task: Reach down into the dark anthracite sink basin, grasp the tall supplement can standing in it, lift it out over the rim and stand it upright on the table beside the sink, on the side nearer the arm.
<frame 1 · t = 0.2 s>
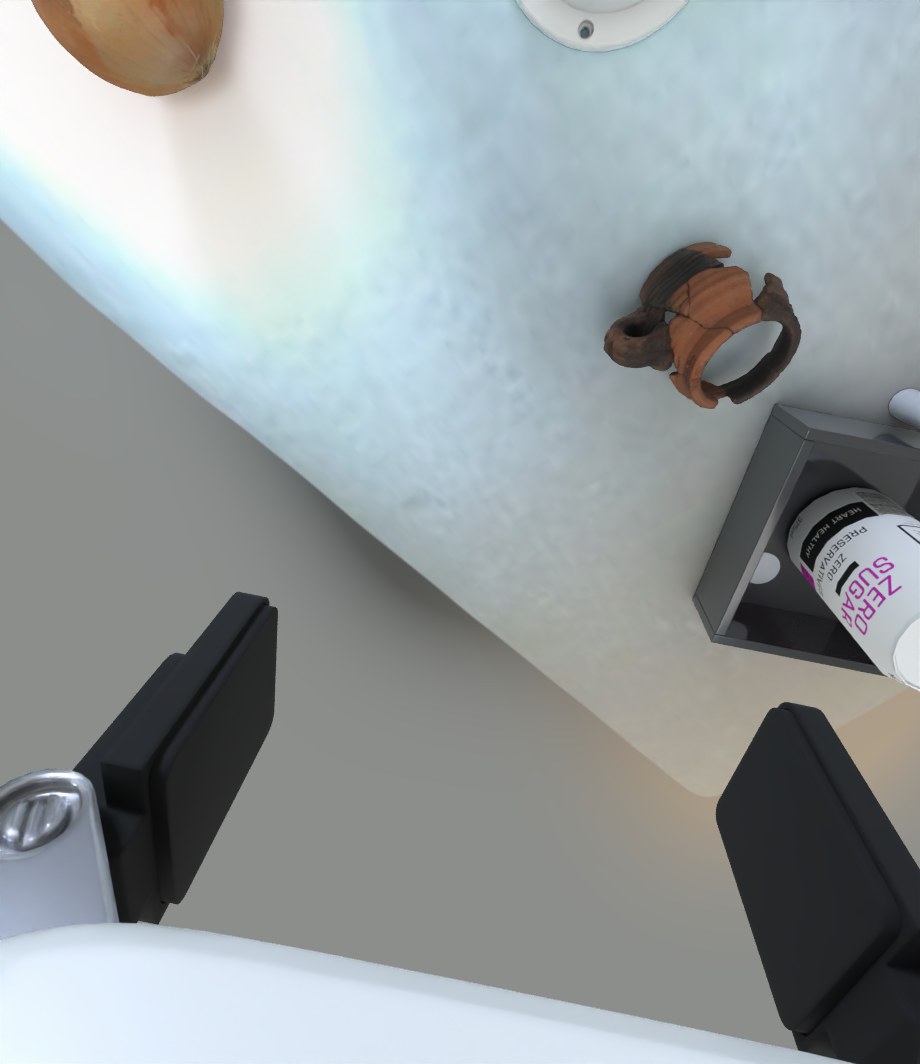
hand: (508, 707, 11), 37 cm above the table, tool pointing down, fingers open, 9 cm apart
supplement can: (837, 530, 48), resting in sink
onion: (175, 12, 37), on the table
pottery mug: (683, 322, 42), on the table
sink: (838, 531, 48), on the table
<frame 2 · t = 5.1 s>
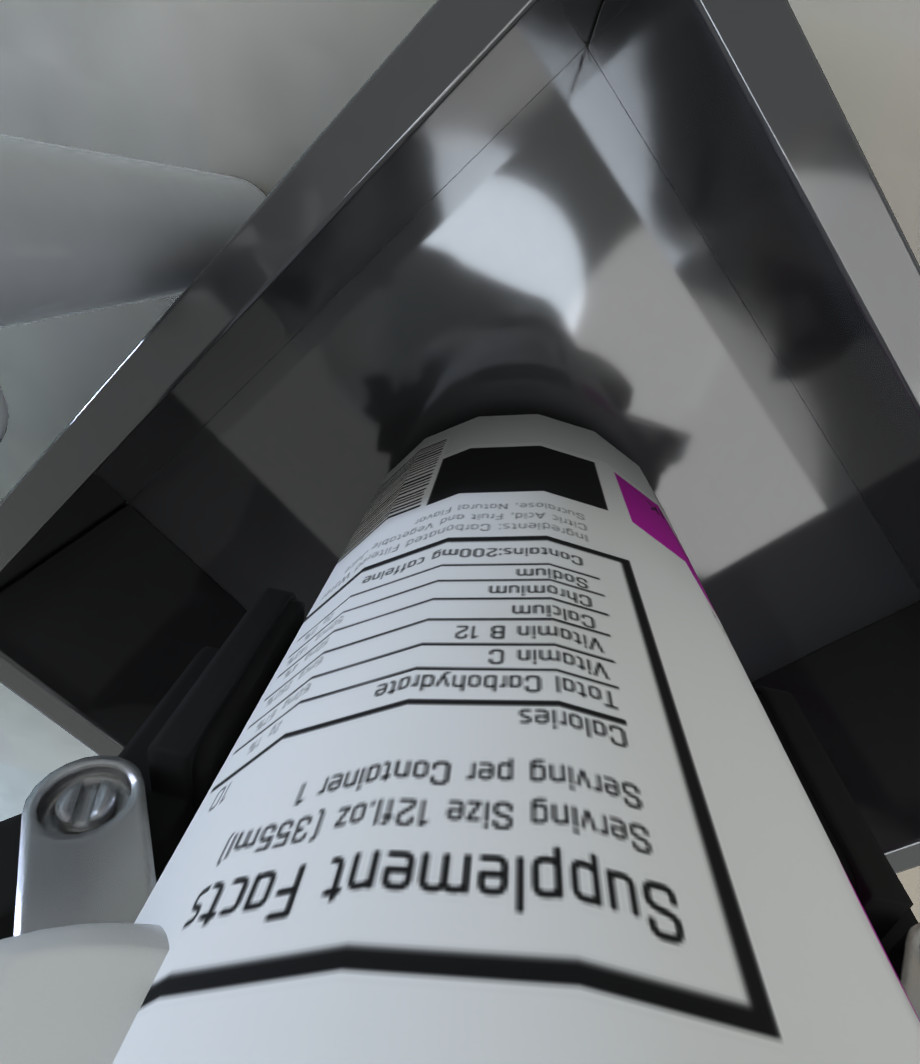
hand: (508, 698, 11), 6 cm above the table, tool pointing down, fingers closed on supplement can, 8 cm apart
supplement can: (513, 545, 17), resting in sink, touching gripper
sink: (513, 547, 17), on the table
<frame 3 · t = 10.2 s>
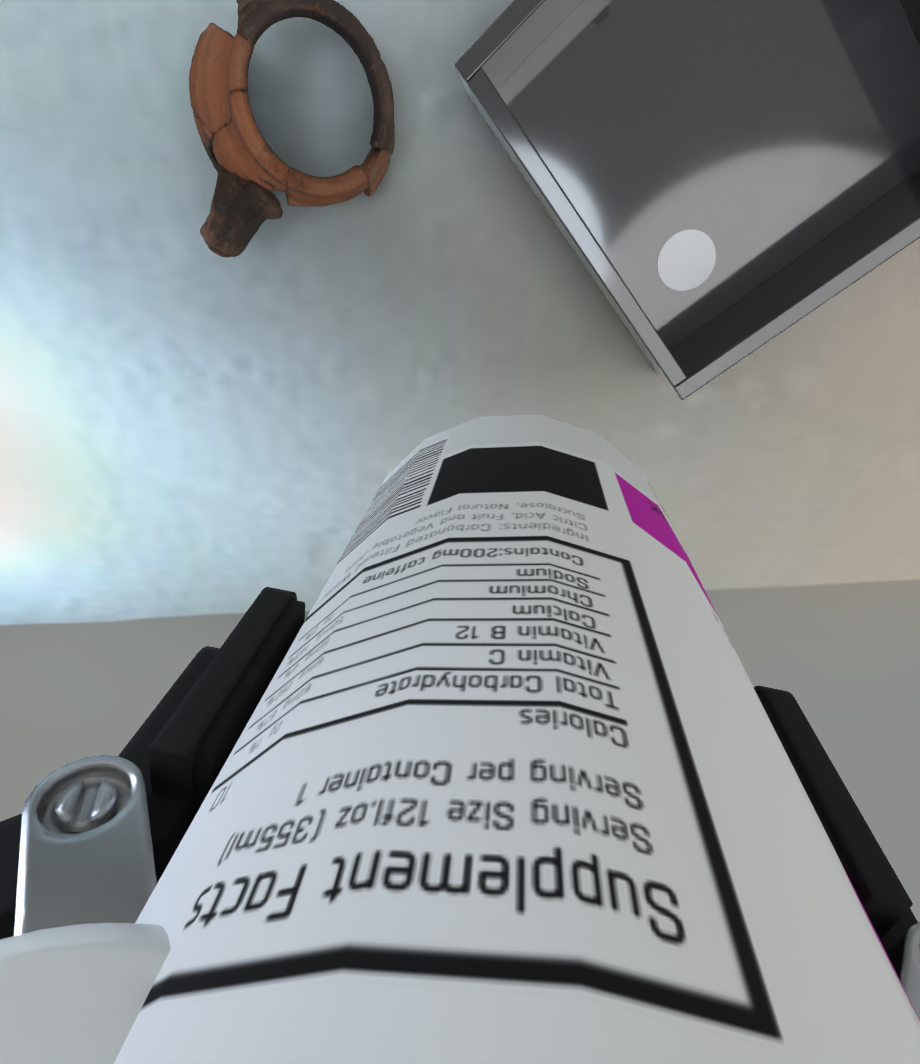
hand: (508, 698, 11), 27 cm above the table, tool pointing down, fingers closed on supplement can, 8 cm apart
supplement can: (514, 545, 17), point 21 cm above the table, touching gripper
pottery mug: (297, 145, 32), on the table
sink: (720, 117, 29), on the table
when the fingers open (6 cm above the table, at t = 15.6 s): supplement can stays where it is, on the table.
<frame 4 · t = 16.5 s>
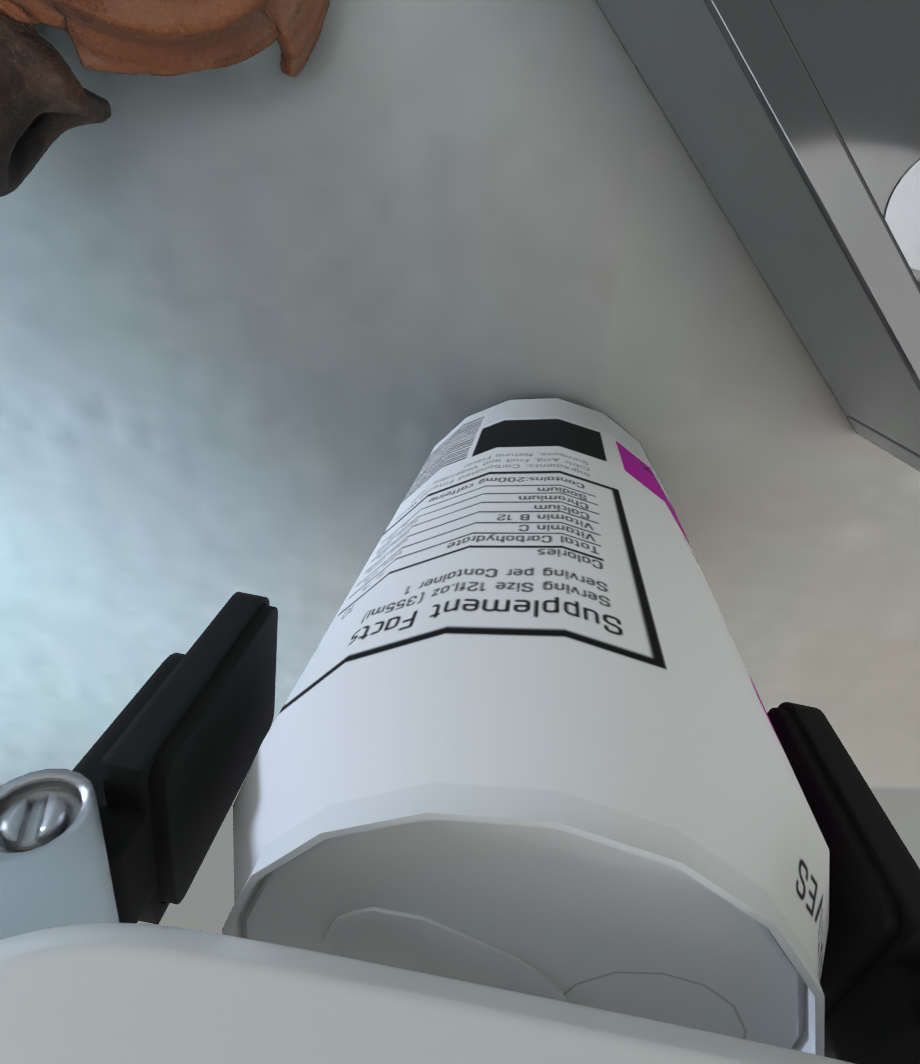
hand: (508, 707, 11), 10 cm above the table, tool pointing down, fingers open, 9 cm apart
supplement can: (535, 510, 21), on the table
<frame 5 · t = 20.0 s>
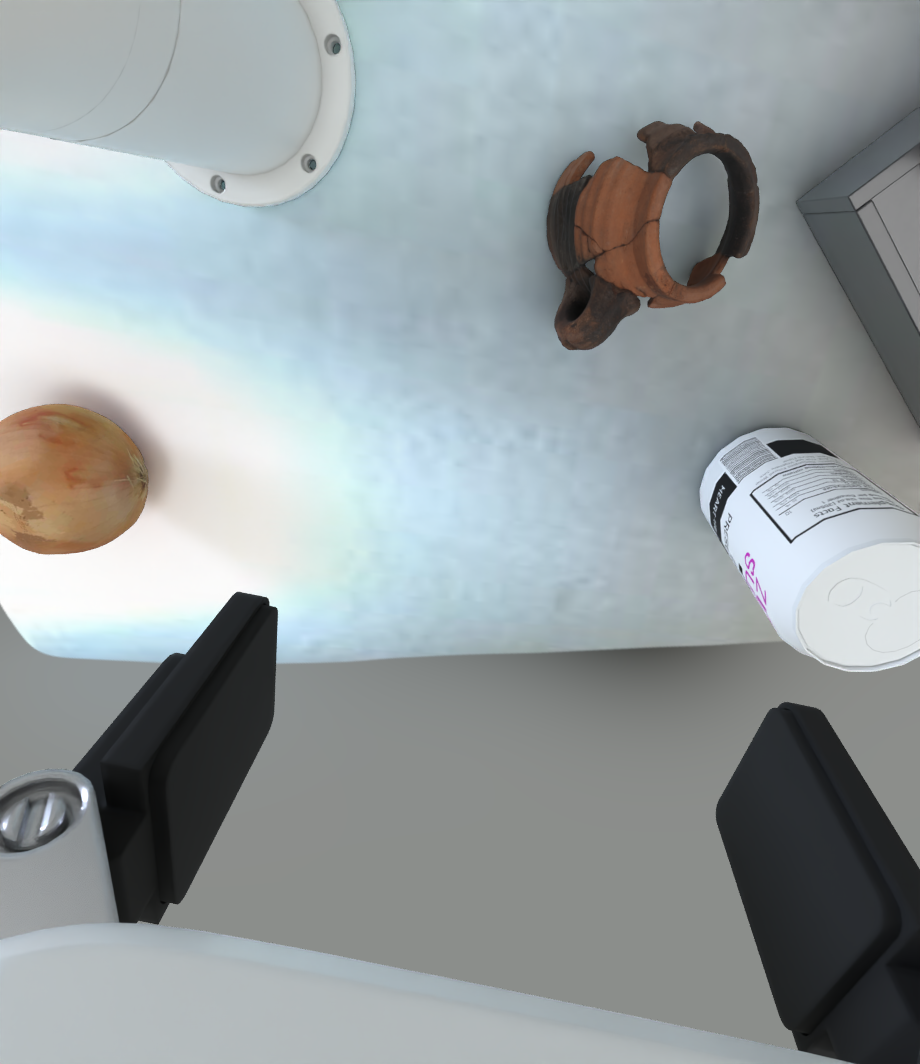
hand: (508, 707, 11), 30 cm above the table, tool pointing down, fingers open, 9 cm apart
supplement can: (759, 482, 40), on the table
onion: (111, 454, 44), on the table
pottery mug: (622, 243, 35), on the table
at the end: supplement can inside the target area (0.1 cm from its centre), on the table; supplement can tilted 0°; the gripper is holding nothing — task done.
